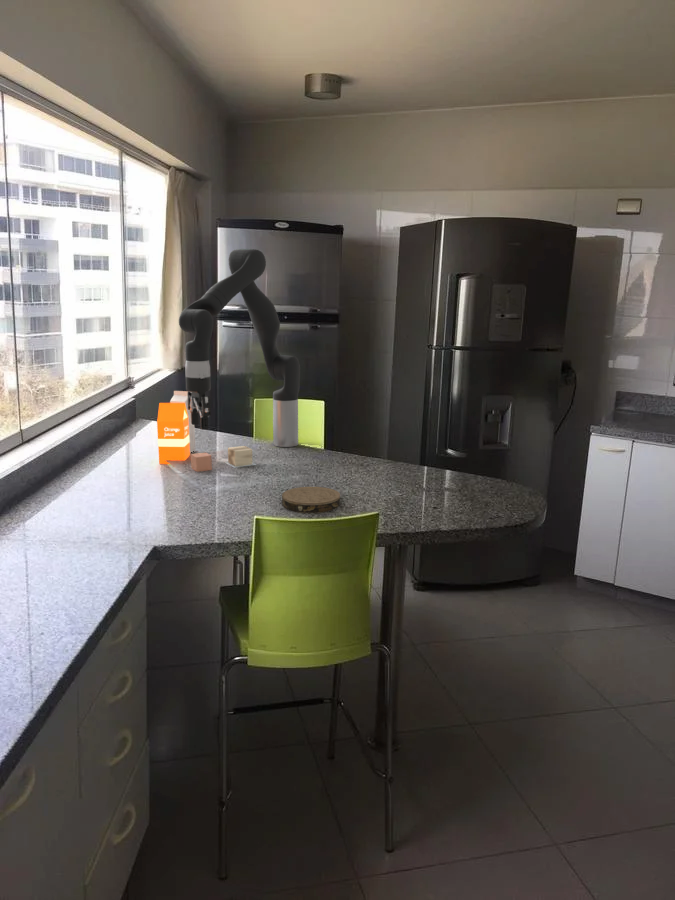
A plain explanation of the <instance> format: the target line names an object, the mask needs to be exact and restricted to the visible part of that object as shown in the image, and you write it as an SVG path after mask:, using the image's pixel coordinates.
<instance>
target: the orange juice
mask: <svg viewBox="0 0 675 900" xmlns="http://www.w3.org/2000/svg"><path fill="white" fill-rule="evenodd" d="M156 425H157V426H156V427H157V428H156V429H157V446H158V448H157V449H158V462H159V463H158V464H159V465H171V463H170V462H168V461H186V460H187V459H188V458H189V457H191V453H190V444H189V442H190V441H189V421H188V414H187V410H186V405H185V403H170V402H159V404H158V412H157V420H156Z"/></svg>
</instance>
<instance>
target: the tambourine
mask: <svg viewBox="0 0 675 900" xmlns="http://www.w3.org/2000/svg"><path fill="white" fill-rule="evenodd" d="M281 498H282V499H281V505H282V507H283V508H284V509H285V510H288V511H290V512H295V513H300V514H320V513H326V512H331V511H334V510H336V509H338V508H339V507H340V506H341V504H340V503H341V493H340V492H339V491H338V490H336V489H333V488H328V487H325V486H324V487H322V486H299V487H294V488H290V489H287V490H284V492H282V494H281Z"/></svg>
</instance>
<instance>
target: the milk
mask: <svg viewBox="0 0 675 900" xmlns="http://www.w3.org/2000/svg"><path fill="white" fill-rule="evenodd" d="M188 392H189V391H187V390H186V391H185V390H184V391H183V390H173V396H172V397H171V399H170V401H169V403H185V405H186V410H187V414H188V421H189V441H190V442H189V444H190V454H192V453H194V452H196V434H195V433H196V432H195V425H192V424H191V413H190V410H188V394H187V393H188ZM193 451H194V452H193ZM191 452H192V453H191Z"/></svg>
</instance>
